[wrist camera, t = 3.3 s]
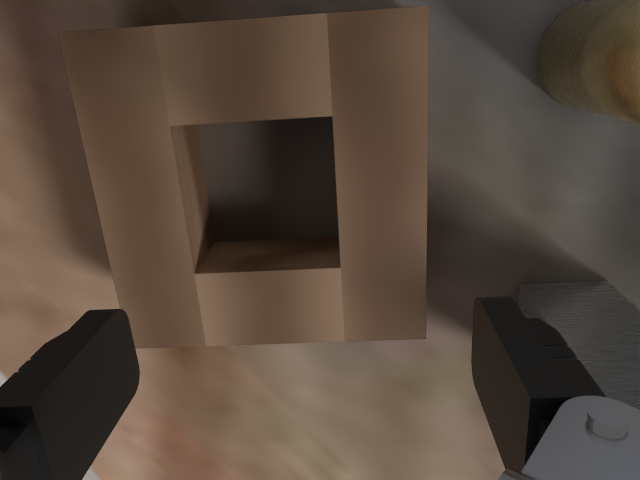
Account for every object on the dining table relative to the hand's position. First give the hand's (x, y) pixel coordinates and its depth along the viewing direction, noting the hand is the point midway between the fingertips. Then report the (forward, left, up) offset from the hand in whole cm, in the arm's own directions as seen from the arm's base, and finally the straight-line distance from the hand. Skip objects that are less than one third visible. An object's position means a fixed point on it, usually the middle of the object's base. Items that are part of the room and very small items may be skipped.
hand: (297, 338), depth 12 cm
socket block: (+2, -1, -12) cm, 12 cm away
